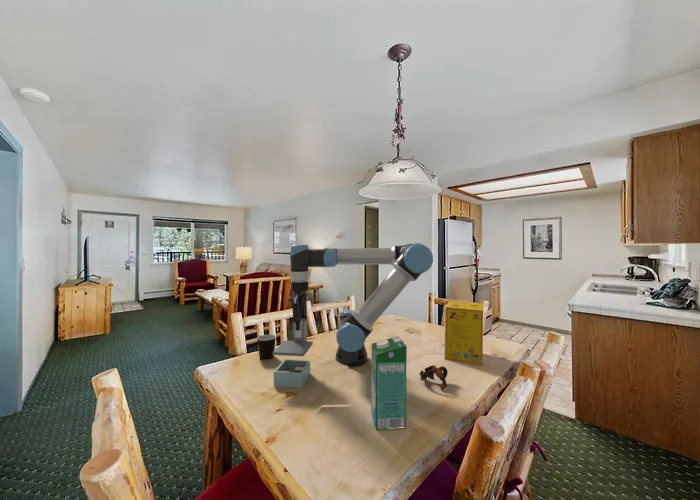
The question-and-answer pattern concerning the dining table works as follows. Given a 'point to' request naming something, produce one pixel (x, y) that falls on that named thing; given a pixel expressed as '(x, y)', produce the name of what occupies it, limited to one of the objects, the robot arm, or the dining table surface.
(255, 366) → the dining table surface
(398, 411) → the milk carton
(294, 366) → the tub
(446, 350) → the packaging box
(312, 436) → the dining table surface
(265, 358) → the coffee mug
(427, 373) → the brown curved piece
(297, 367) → the walnut block
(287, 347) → the bookend
